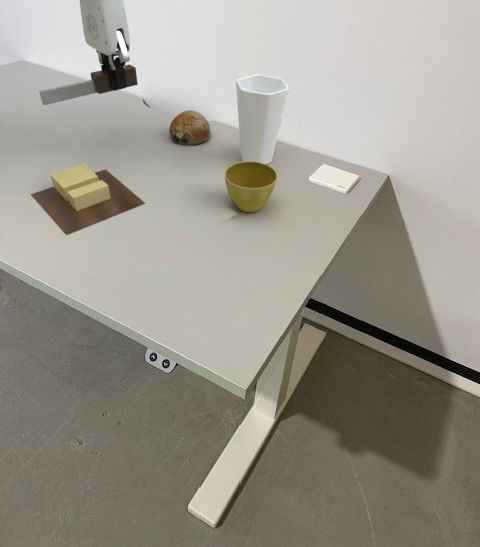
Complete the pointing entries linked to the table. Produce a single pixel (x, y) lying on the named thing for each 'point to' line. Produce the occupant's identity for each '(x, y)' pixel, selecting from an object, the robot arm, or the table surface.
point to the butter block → (72, 179)
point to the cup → (260, 115)
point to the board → (91, 215)
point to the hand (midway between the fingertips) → (115, 85)
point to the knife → (87, 86)
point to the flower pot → (250, 184)
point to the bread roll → (189, 128)
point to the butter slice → (89, 195)
